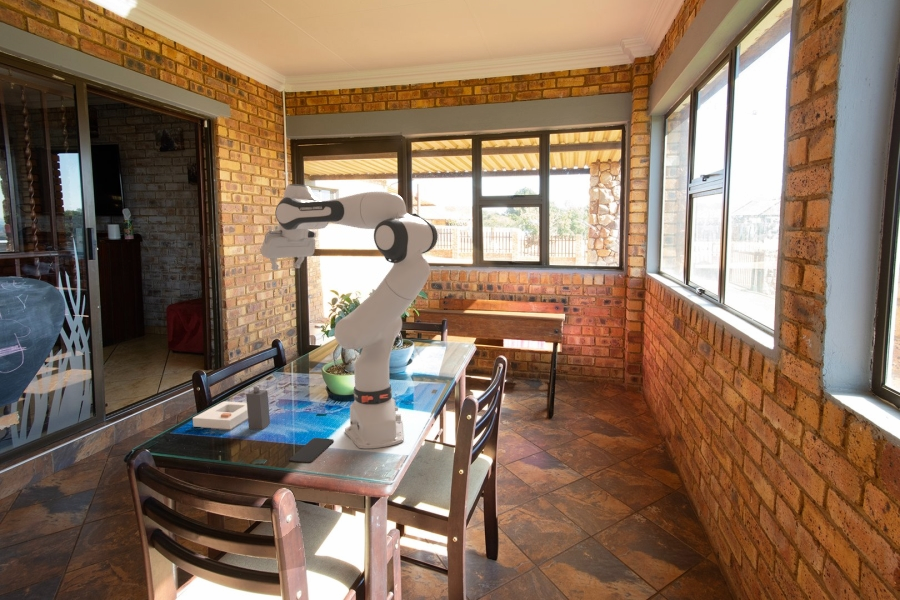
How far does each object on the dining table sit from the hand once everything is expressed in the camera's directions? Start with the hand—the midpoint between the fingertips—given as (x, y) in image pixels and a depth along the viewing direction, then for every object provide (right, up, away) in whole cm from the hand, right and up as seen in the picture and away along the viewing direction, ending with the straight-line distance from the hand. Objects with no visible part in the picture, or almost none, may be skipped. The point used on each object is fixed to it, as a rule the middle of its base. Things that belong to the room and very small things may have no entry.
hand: (285, 268), depth 175 cm
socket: (-19, -53, -2) cm, 56 cm away
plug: (-6, -53, -9) cm, 54 cm away
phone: (+17, -56, -27) cm, 65 cm away
